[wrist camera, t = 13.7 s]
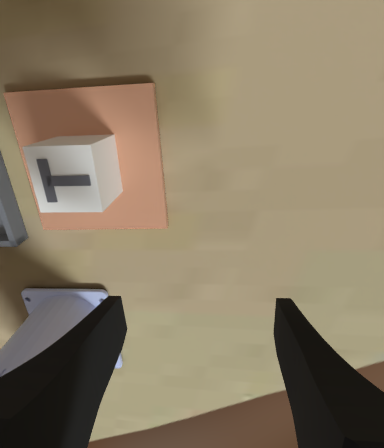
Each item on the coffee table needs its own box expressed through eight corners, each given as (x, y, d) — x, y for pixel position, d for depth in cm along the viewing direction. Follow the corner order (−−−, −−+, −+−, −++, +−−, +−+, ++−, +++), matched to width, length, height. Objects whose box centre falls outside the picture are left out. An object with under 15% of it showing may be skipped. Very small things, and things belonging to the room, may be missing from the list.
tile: (168, 225, 23) (167, 228, 22) (47, 226, 24) (43, 229, 23) (154, 82, 19) (152, 82, 18) (9, 92, 20) (3, 92, 19)
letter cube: (122, 191, 21) (102, 212, 18) (70, 191, 22) (39, 213, 18) (114, 134, 20) (89, 145, 16) (57, 136, 20) (21, 147, 16)
